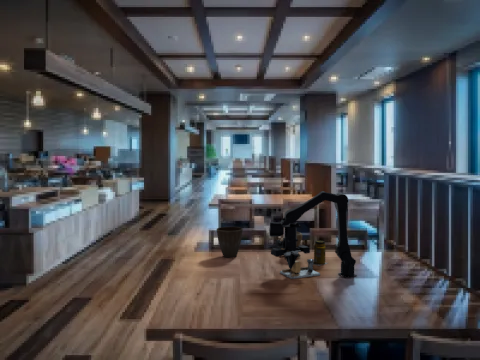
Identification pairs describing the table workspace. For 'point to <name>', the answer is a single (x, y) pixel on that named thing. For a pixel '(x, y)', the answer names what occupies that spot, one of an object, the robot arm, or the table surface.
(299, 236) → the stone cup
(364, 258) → the table surface
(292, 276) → the plate
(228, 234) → the plant pot
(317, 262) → the condiment
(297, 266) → the leg
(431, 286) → the table surface
